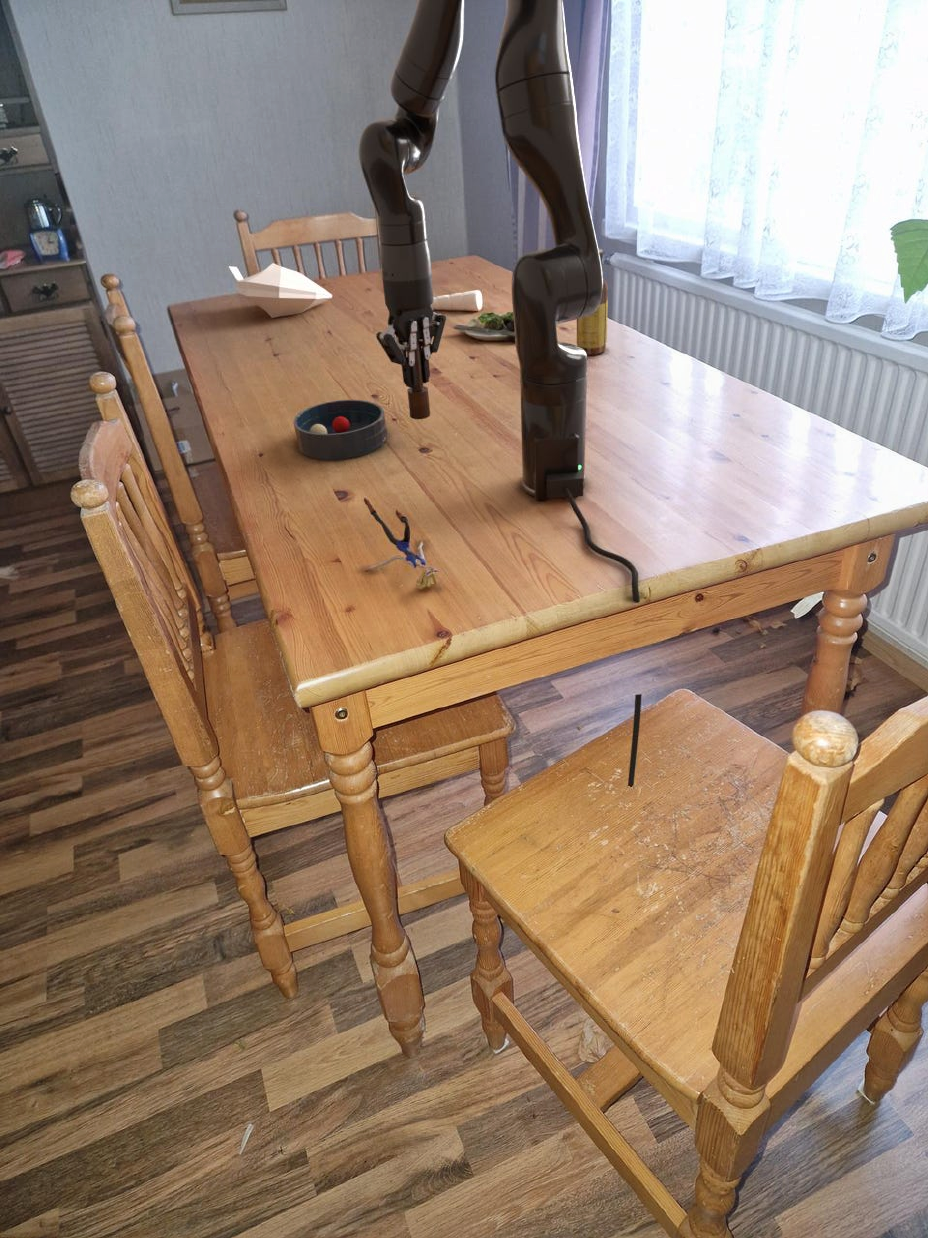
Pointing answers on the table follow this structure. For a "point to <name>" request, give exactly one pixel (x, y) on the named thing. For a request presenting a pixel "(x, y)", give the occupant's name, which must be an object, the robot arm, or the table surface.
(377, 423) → the bowl
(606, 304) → the sauce bottle
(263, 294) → the white faceted piece
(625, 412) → the table surface
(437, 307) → the unicorn horn
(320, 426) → the cream ball
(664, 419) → the table surface
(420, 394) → the brown stepped wooden peg
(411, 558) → the figurine
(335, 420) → the red ball
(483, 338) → the salad plate
